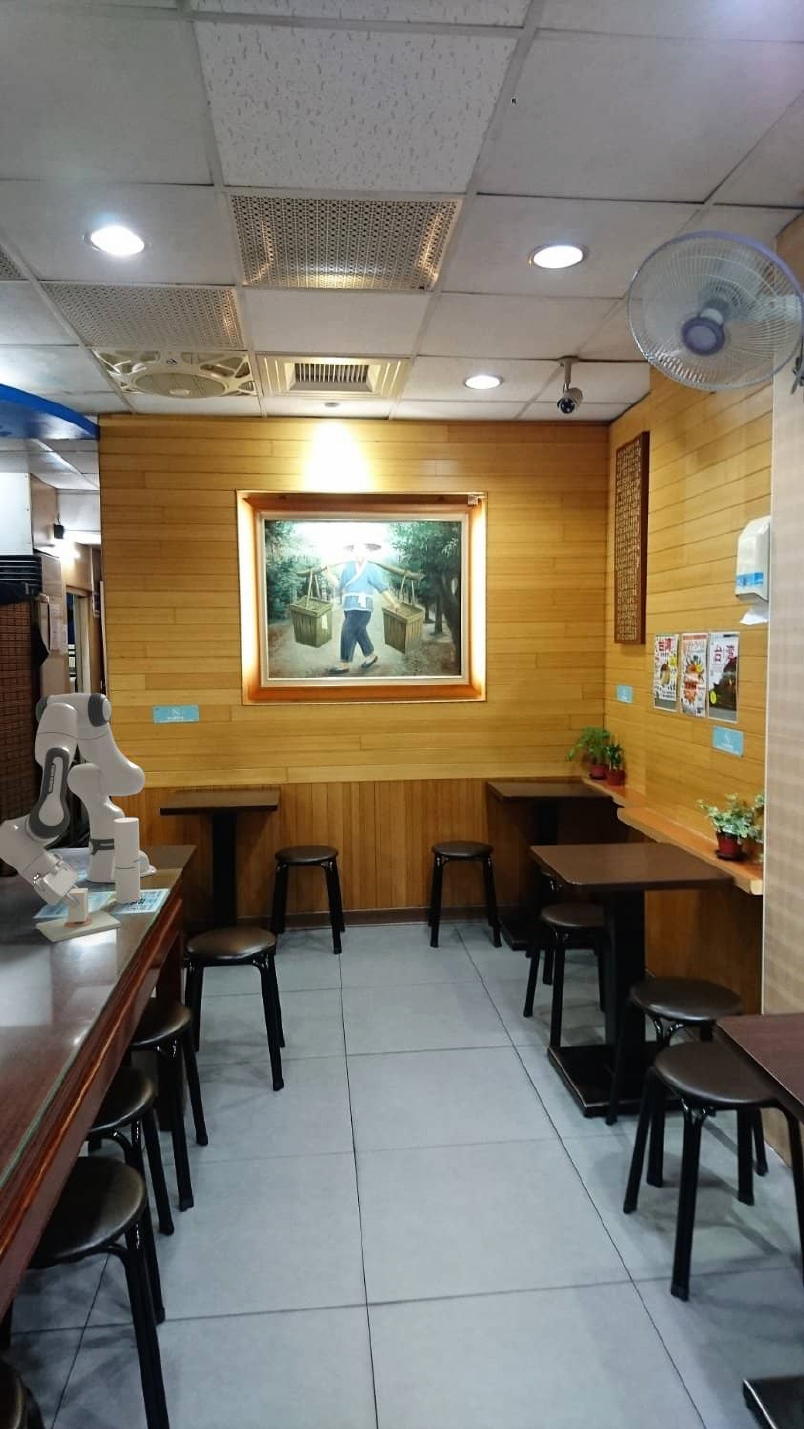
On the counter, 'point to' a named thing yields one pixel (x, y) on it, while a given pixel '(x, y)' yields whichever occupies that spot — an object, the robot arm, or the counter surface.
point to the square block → (82, 909)
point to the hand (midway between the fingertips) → (80, 902)
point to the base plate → (77, 926)
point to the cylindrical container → (127, 860)
